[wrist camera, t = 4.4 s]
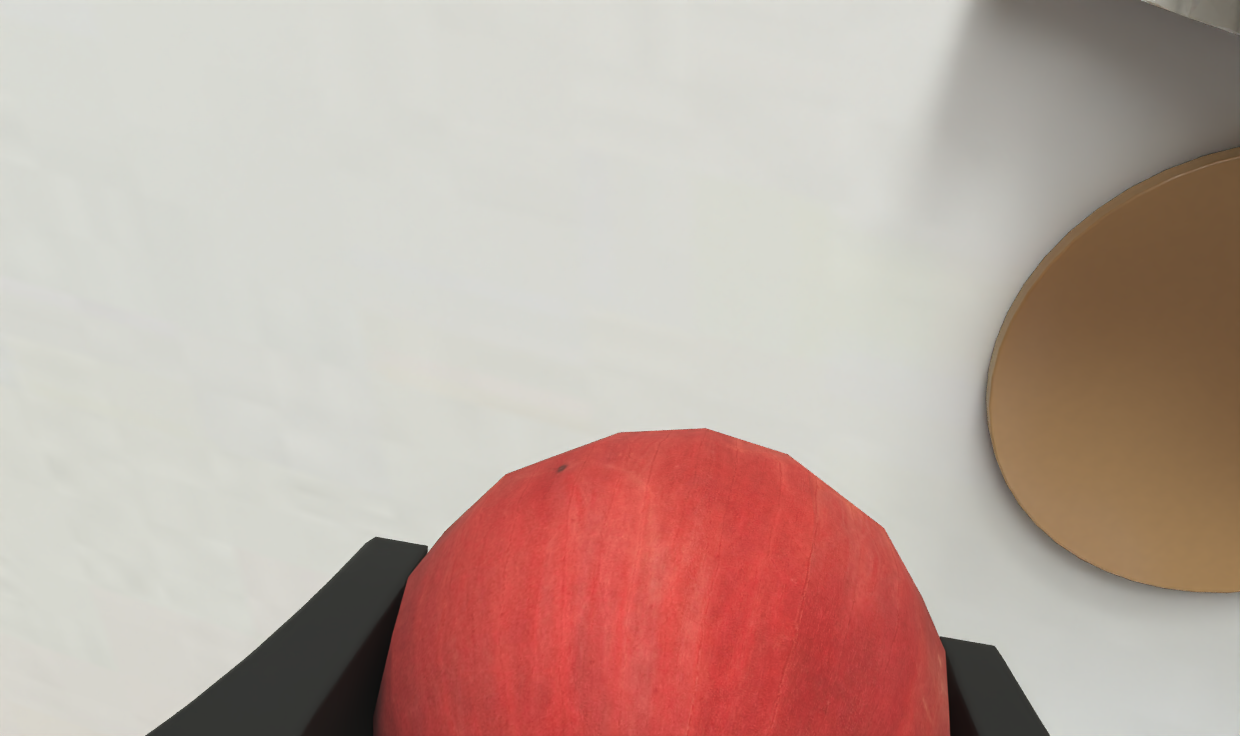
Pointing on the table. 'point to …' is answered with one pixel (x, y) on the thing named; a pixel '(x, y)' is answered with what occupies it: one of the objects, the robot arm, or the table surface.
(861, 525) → the onion
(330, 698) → the robot arm
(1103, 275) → the coaster
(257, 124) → the table surface
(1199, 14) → the packaged product
